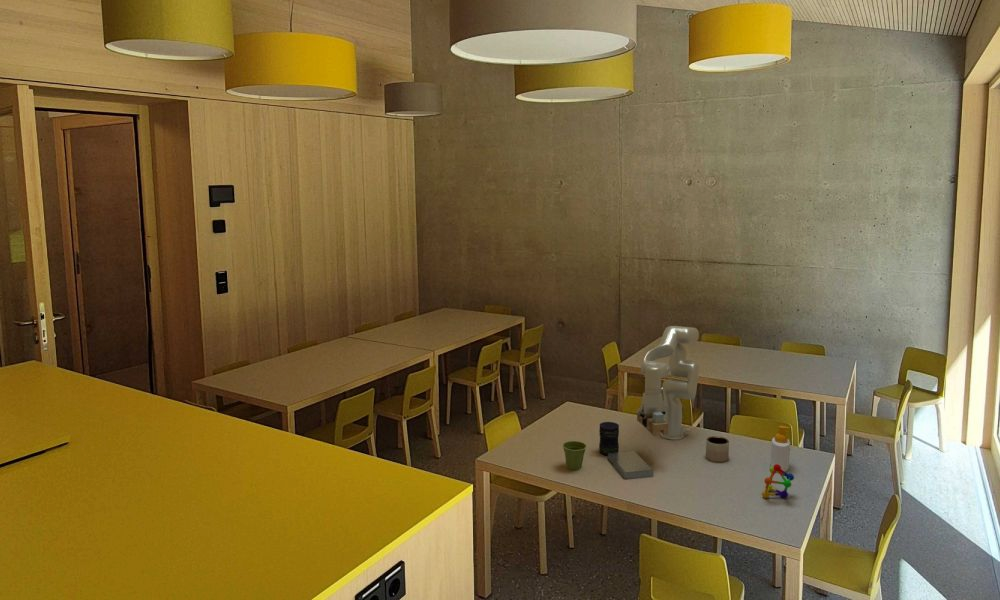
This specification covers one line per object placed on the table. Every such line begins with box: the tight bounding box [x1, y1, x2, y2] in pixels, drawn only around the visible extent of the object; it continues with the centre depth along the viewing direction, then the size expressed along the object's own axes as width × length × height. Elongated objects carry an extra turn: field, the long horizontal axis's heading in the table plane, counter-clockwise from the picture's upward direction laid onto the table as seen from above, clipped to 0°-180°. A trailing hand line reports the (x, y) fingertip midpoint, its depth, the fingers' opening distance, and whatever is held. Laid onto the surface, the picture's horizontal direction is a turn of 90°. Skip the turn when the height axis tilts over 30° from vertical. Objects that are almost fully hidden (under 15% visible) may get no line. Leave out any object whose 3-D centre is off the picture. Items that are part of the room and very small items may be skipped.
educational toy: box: [761, 464, 795, 499], centre depth 301 cm, size 16×13×15 cm
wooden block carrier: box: [636, 411, 668, 437], centre depth 340 cm, size 22×7×6 cm, turn 11°
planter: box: [705, 435, 730, 463], centre depth 342 cm, size 11×11×10 cm
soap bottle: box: [770, 425, 791, 472], centre depth 329 cm, size 13×8×20 cm, turn 160°
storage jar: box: [598, 421, 620, 458], centre depth 350 cm, size 10×10×15 cm
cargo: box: [652, 412, 664, 423], centre depth 332 cm, size 4×4×4 cm
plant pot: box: [561, 440, 588, 471], centre depth 334 cm, size 12×12×11 cm
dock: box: [607, 450, 654, 480], centre depth 333 cm, size 14×24×3 cm, turn 10°
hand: (652, 424), depth 340 cm, fingers closed on wooden block carrier, 7 cm apart
